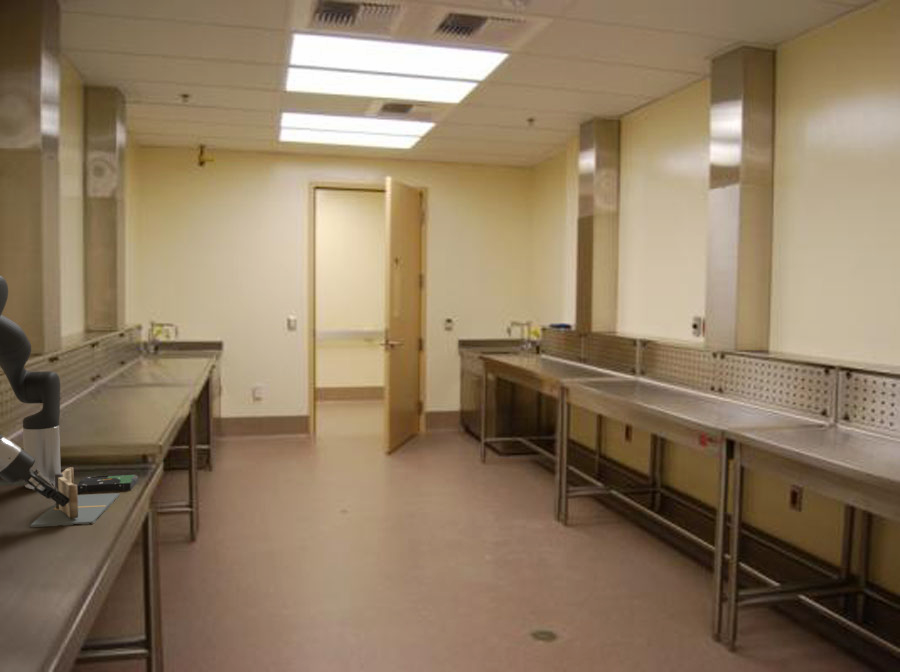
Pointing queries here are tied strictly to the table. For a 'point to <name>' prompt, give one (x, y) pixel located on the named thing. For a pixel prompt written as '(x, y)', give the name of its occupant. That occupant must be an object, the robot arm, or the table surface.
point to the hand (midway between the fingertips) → (66, 502)
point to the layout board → (87, 511)
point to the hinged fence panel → (71, 493)
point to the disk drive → (107, 483)
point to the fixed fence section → (67, 475)
